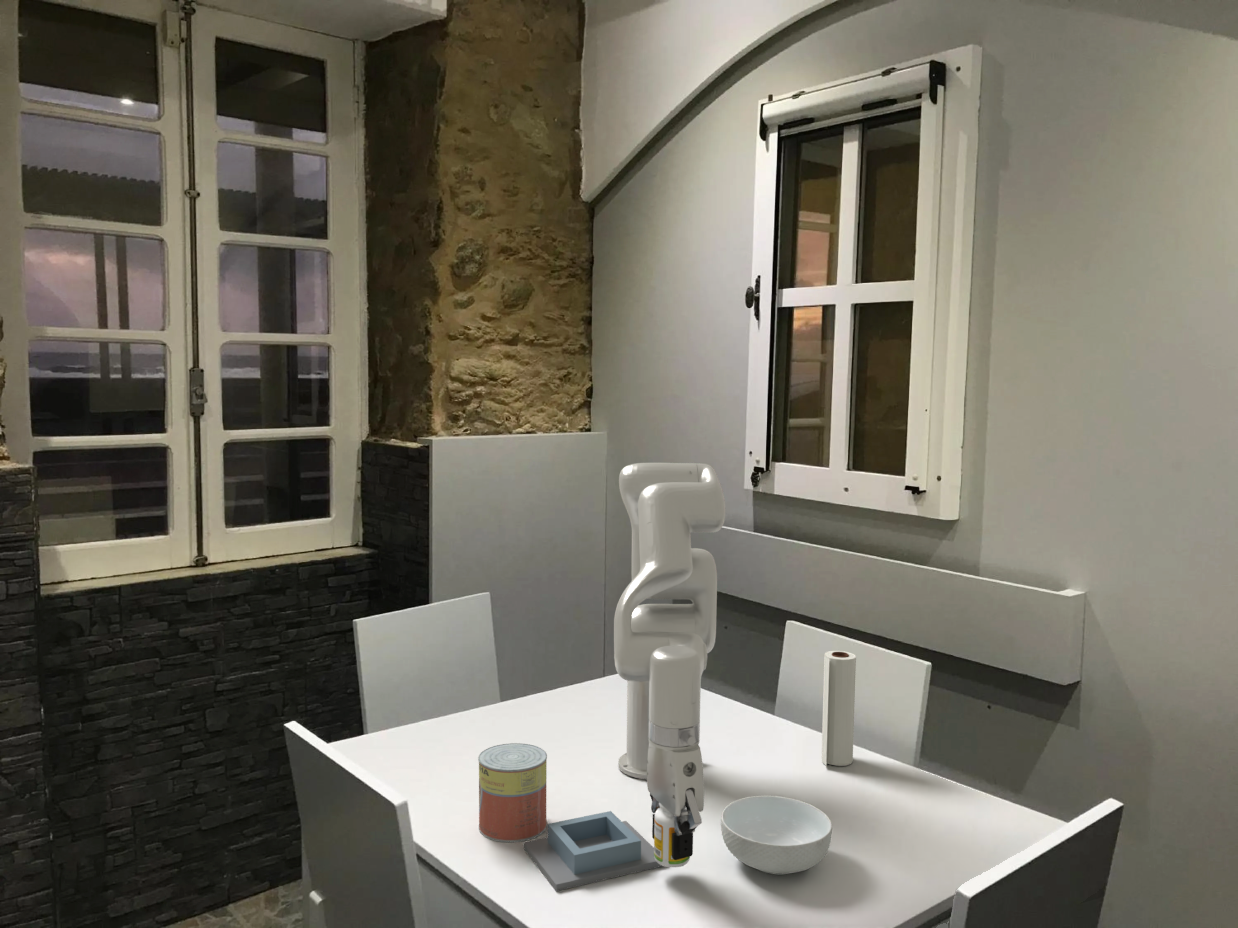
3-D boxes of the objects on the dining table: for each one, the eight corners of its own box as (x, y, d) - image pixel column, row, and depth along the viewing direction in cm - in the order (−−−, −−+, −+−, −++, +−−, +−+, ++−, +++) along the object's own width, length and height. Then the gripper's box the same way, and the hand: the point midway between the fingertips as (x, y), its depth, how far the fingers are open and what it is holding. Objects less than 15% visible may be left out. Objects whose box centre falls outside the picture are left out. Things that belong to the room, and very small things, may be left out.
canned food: (484, 809, 167) (484, 742, 165) (550, 811, 166) (550, 743, 165) (473, 841, 155) (472, 769, 154) (543, 842, 155) (543, 770, 154)
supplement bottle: (695, 854, 146) (696, 793, 145) (682, 871, 141) (683, 808, 140) (662, 846, 148) (663, 786, 147) (648, 863, 144) (649, 801, 142)
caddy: (625, 826, 161) (626, 803, 160) (665, 865, 148) (665, 840, 148) (523, 848, 153) (523, 823, 153) (556, 890, 141) (556, 864, 140)
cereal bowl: (756, 900, 139) (757, 852, 138) (701, 848, 154) (701, 805, 153) (853, 876, 145) (855, 831, 145) (791, 828, 161) (792, 787, 160)
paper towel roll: (842, 753, 193) (845, 648, 191) (858, 764, 187) (862, 656, 185) (810, 757, 191) (813, 651, 189) (826, 769, 185) (829, 660, 183)
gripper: (726, 748, 136) (723, 869, 139) (669, 707, 152) (667, 816, 154) (679, 758, 133) (677, 881, 135) (625, 714, 148) (624, 826, 151)
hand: (672, 845), depth 145 cm, fingers closed on supplement bottle, 5 cm apart
